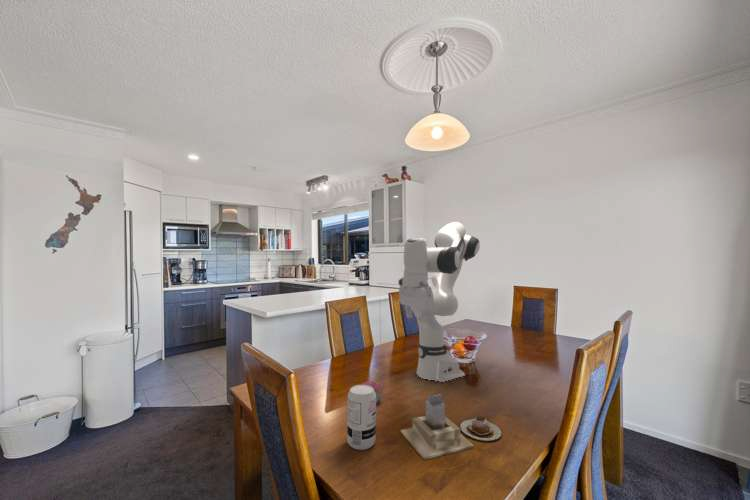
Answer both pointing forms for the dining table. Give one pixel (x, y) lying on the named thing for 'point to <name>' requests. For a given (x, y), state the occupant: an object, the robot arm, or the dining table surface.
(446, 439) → the well
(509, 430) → the dining table surface
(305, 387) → the dining table surface
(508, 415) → the dining table surface
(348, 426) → the supplement can
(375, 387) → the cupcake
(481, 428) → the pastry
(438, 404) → the grey long block
